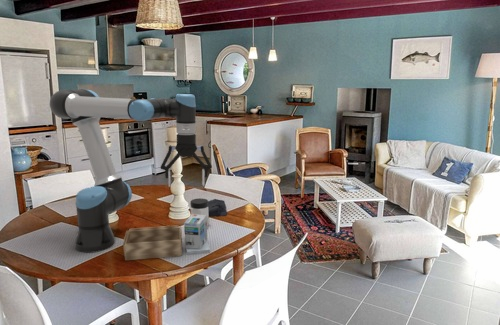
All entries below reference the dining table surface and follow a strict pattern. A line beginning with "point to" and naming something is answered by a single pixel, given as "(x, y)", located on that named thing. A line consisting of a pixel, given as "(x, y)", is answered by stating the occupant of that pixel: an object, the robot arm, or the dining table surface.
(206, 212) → the jar
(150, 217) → the dining table surface
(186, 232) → the light bulb box
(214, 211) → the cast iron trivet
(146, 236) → the carton
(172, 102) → the robot arm
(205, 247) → the tile
